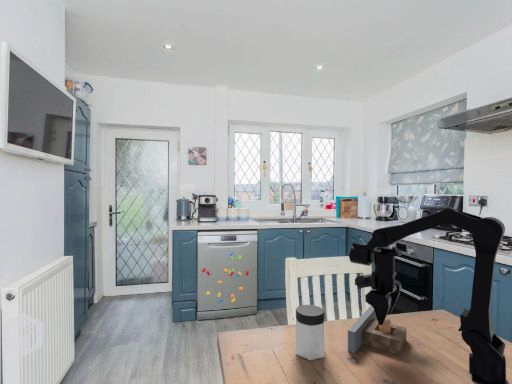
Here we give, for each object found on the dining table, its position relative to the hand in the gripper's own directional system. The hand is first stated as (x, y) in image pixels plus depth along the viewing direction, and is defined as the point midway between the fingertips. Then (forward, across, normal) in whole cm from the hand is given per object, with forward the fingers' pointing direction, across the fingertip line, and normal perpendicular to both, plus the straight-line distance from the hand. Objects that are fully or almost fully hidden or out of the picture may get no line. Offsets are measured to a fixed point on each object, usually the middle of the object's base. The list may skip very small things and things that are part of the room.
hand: (384, 319), depth 85 cm
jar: (+7, +19, -16) cm, 26 cm away
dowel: (+7, 0, 0) cm, 7 cm away
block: (+7, 0, 0) cm, 7 cm away
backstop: (+7, 0, -6) cm, 9 cm away
